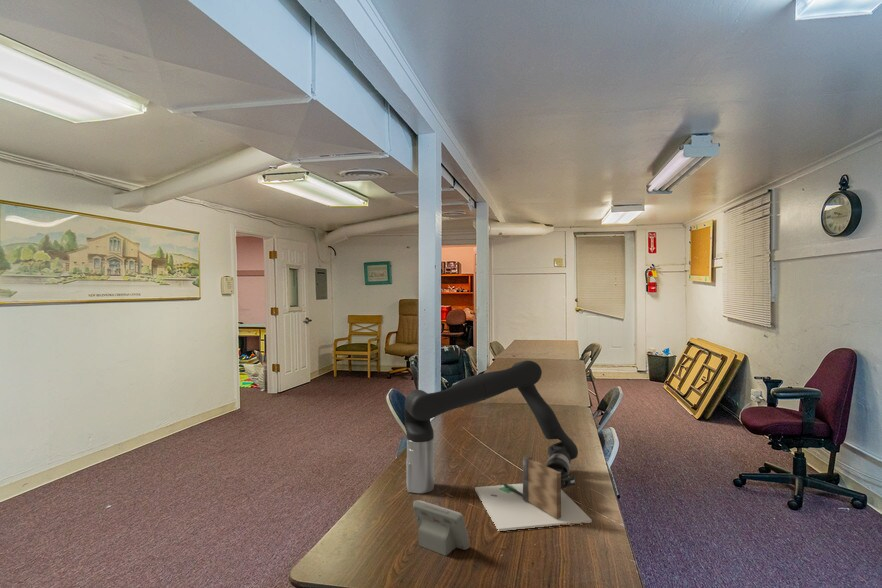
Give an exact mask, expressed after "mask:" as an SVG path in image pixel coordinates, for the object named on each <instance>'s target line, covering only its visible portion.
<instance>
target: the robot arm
mask: <svg viewBox="0 0 882 588" xmlns="http://www.w3.org/2000/svg"><path fill="white" fill-rule="evenodd" d="M542 372H543V371H542V368H541V366H540V365H539V363H537V362H536V361H533V360H523V361H519V362H516V363H514V364H513V365H511V367H508V368H505V369H501V370H497V371H496V370H495V371H490V372H489V371H487V372H484V373H478V374H475V375H472V376H468V377H466V378H464V379H461V380H459V381H458V382H456V383H455V384H453V385H452V386H450V387H448V388H447V389H442V390H440V391H436V392H430V393H428V392H426V391H425V390H422V389H414V390H412V391H409V393H408V394H407V396H406V397H405V400H404V412H403V413H404V428H405V431H406V459H405V462H406V464H405V468H406V469H405V470H406V471H405V472H406V473H405V474H406V477H405V478H406V479H405V480H406V485H405V486H406V489H407V492H408V493H414V494H427V493H429V492H431V491H434V488H435V461H434V460H435V458H434V457H435V456H434V455H435V454H434V453H435V452H434V451H435V449H434V448H435V447H434V445H435V443H434V441H435V439H434V438H435V437H434V428H433V426H432V423H431V419H433V418H435V417H438V416H439V415H442V414H445V413H446V412H449V411H453V410H455V409H460V408H462V407H466V406H468V405H472V404H476V403H479V402H483V401H486V400H488V399H491V398H493V397H496V396H498V395H501V394H503V393H505V392H508V391H510V390H514V389H517V390H518V391H519V393H520V394H521V395H522V397H523V398H524V401H526V404H528V406H529V408H530V410H531V412H532V414H533V415H534V417H535V419H536V421H537V423H538V426H539V427H540V429H541V431H542V434H543V436H544V437H545V438H546V440H559V442H556V443H553V444H551V445H550V446H549V447H548V449H547V454H548V460H547V461H546V465H545V466H547V467H549V468H552V469H554V470H556V471H558V472H560V473H561V489H565V488H569V487H572V486H575V485H576V476H575V475H570V468H571V461H572V460H575V459H576V458H577V457H578V456H579V451H578V447H577V445H576V443H574V441H573V440H572V439H571V438H570V437H569V436H568V434H567V433H566V432H565V430H564V428H562V425H561V424H560V421H559V419H558V418H557V416H556V413H555V412H554V410H553V409H552V408H551V406H550V405H549V404H548V403H547V402H546V401H545V399H544V398H543V397H542V396H541V394H540V393H539V391H538V389H537V387H536V384H537V383H538V382H539V381H540V379H541V378H542V375H543V374H542Z"/></svg>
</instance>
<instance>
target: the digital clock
mask: <svg viewBox="0 0 882 588" xmlns="http://www.w3.org/2000/svg"><path fill="white" fill-rule="evenodd" d="M412 507H413V508H412V510H413V512H414V517H415V519H416V523H417V527H418V546H419V547H422V548H424V549H426V550H429V551H432V552H435V553H437V554H439V555H443V556H445V557H446V556H448V555H449V554H450V553H452V550H453V551H454V550H455V549H460V550H463V551H464V550H468V549H469V548H470V544H471V543H470V538H469V534H468V532H467V531H468V530H467V526H466V523H465V518H464V515H463V514H462V513H461V512H459V511H456V510H452V509H450V508H447V507H443V506H440V505H437V504H433V503H429V502H427V501H424V500H420V499H417V500H414V501H413V502H412Z"/></svg>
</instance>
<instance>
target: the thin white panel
mask: <svg viewBox="0 0 882 588" xmlns="http://www.w3.org/2000/svg"><path fill="white" fill-rule="evenodd" d="M507 485H508V486H510V487H512V488H514V489H515V490H517V491H519V492H520V493H522V494H523V483H513V484H511V483H509V484H507ZM474 491H475V493H476V494H477V496H478V498H479V500H480V502H481V501H482V502H481V503H482V505H483V507H484V509H485V511H486V510H487V511H486V512H487V514H488V516H489V517H491V518H490V519H491V521H492V523H493V522H494V523H493V525H494V524H495V525H494V526H496V527H495V528H496V530H497V529H498V530H497V532H498V531H506V530H516V529H525V528H535V527H544V526H552V525H560V524H567V523H568V524H570V523H581V522H592V523H593V521H592V518H590V516H589V515H588V514H587V513H585V511H584V510H583V509H582V508H581V507H579V505H577V504H576V502H575V501H573V500H572V498H571V497H570V496H569V495H568V494H567V493H566V492H565V491H564V490H562V488H561V518H558V519H557V518H555V517H553V516H552V515H550V514H548V513H547V512H545V511H543V510H542V509H540V508H538V507H537V506H535V505H533V504H532V503H530V502H528V501H524V500H523V497H522V496H520V495H518V494H517V493H515V492H513V491H512V490H510V489H508V488H507V487H505V486H504V484H500V485H499V484H498V485H486V486H476V487H474Z"/></svg>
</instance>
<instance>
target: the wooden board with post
mask: <svg viewBox="0 0 882 588" xmlns="http://www.w3.org/2000/svg"><path fill="white" fill-rule="evenodd" d="M522 484H523V494H522V493H520V492H519V491H517V490H515V489H514V488H512V487H510V486H508V485H509V484H507V483H504V484H503V485H504V486H505V487H507V488H508V489H510V490H512V491H513V492H515V493H517V494H518V495H520V496H522V497H523V500H524V501H528V502H530V503H532V504H533V505H535V506H537V507H538V508H540V509H542V510H543V511H545V512H547V513H548V514H550V515H552V516H553V517H555V518H557V519H558V518H561V489H562V488H561V473H560V472H558V471H556V470H554V469H552V468H549V467H547V466H546V465H545V464H543V463H542V462H539V461H536V460H535V459H533V458H532V457H530V456H523V457H522Z"/></svg>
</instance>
